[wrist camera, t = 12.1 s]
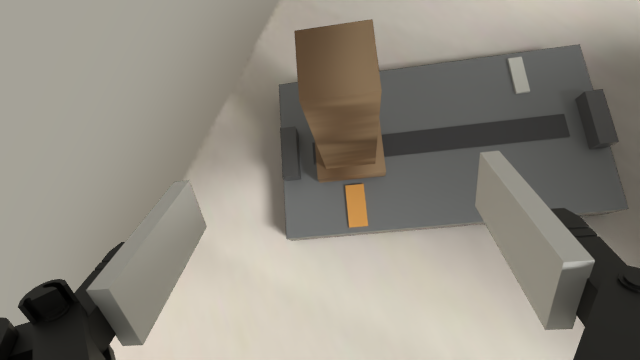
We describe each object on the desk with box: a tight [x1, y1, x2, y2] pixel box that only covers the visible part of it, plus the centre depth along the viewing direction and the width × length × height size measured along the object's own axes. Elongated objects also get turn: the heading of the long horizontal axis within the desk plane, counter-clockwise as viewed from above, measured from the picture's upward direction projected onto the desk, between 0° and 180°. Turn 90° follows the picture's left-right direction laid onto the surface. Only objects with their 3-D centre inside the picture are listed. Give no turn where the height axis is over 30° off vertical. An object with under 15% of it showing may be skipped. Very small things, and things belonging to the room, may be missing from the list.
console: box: [279, 44, 629, 241], centre depth 28 cm, size 24×13×3 cm, turn 94°
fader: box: [295, 19, 386, 183], centre depth 22 cm, size 5×5×12 cm
